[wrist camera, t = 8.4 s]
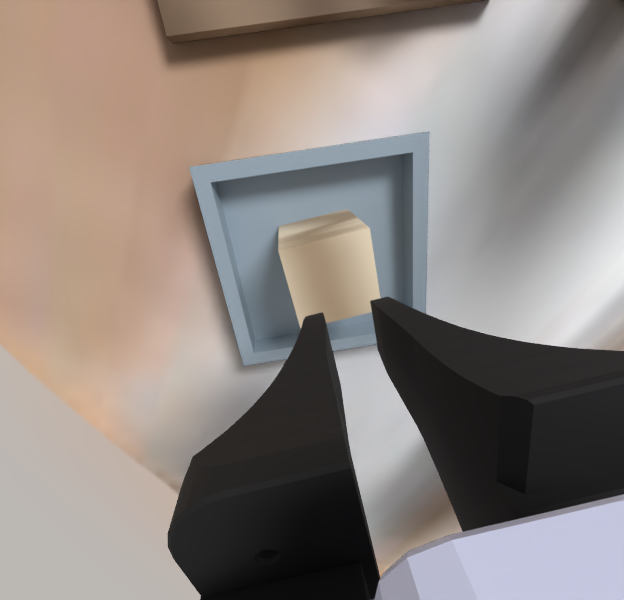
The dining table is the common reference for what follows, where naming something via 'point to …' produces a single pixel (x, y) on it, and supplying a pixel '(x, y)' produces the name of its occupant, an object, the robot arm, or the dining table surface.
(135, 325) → the dining table surface
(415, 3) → the board
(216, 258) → the tray
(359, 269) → the block
